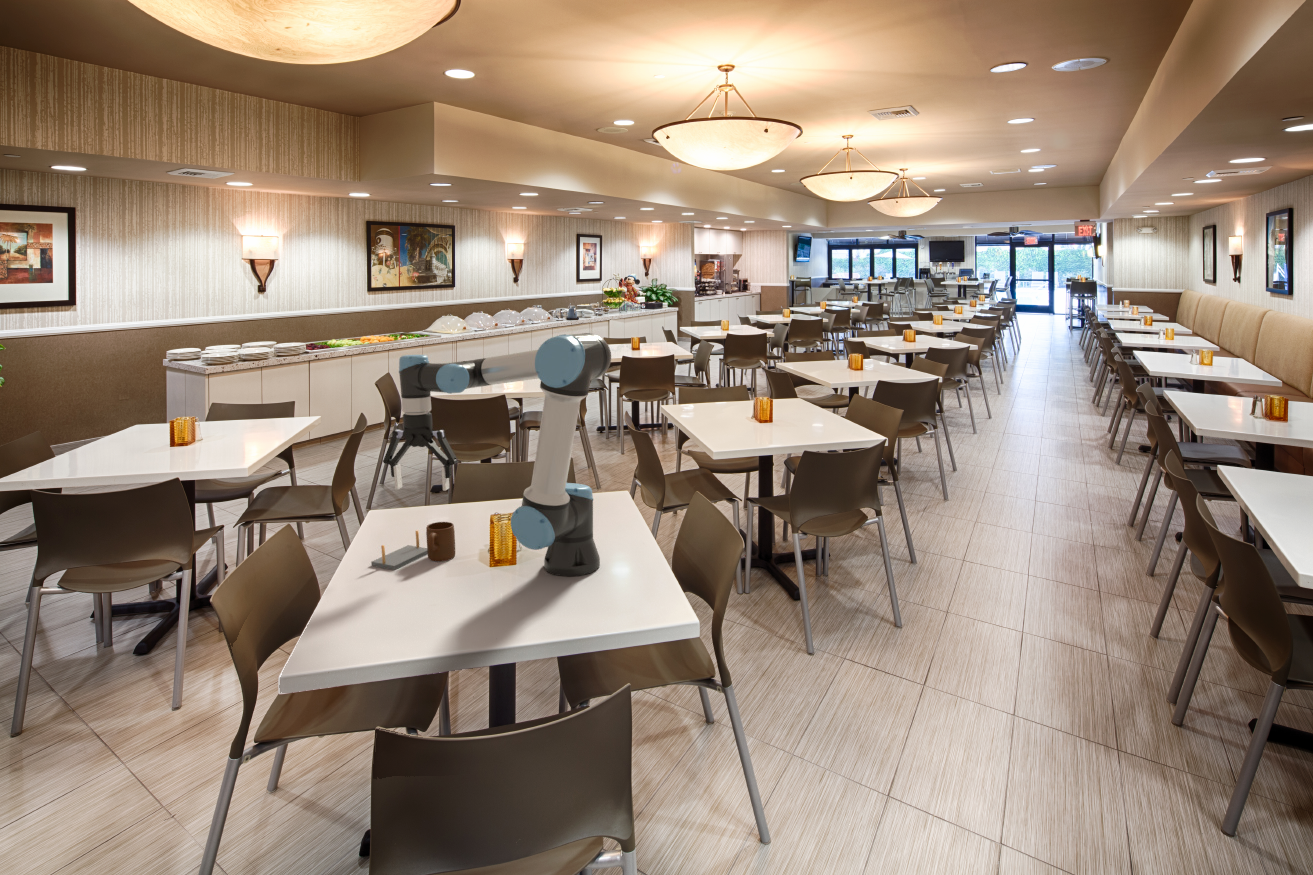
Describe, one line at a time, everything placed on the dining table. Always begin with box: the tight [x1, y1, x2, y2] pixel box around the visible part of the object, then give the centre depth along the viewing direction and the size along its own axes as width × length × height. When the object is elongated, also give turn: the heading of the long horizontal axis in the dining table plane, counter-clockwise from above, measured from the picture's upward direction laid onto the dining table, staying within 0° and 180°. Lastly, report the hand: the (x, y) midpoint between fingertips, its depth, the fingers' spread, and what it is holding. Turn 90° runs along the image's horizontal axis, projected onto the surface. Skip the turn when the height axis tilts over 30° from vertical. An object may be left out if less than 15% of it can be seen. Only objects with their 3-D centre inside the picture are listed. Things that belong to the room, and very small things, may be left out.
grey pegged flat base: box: [371, 530, 428, 571], centre depth 204 cm, size 8×15×6 cm, turn 158°
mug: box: [425, 521, 456, 563], centre depth 203 cm, size 12×8×9 cm, turn 176°
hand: (422, 488), depth 201 cm, fingers open, 13 cm apart
